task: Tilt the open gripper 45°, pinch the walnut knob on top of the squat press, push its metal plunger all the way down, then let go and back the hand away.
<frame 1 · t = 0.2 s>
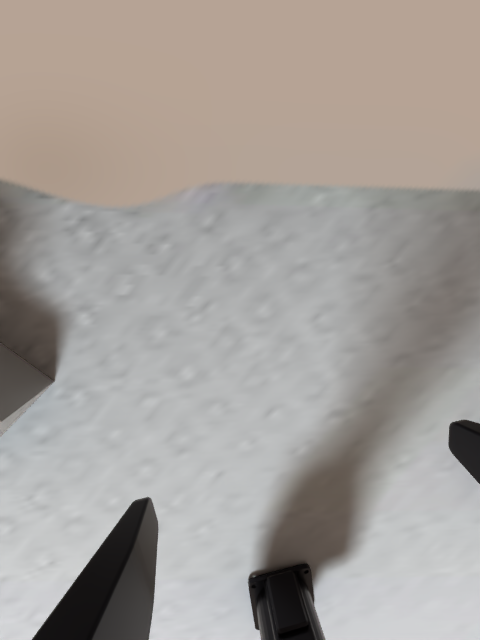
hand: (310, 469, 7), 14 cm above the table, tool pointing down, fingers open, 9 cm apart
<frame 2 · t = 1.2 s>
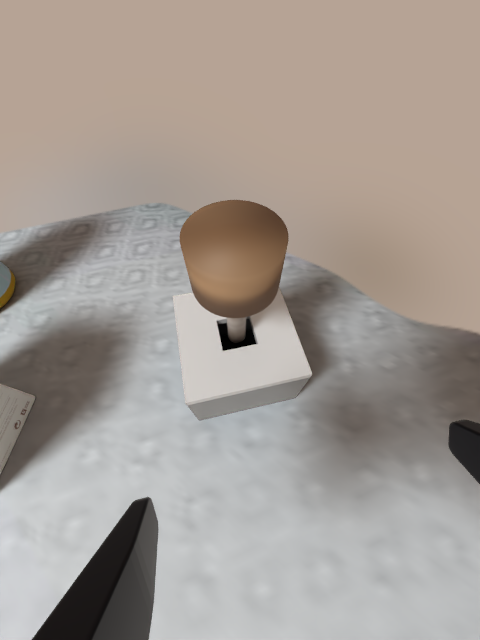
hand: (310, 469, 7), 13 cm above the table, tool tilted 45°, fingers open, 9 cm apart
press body: (237, 363, 23), on the table
plunger: (235, 298, 15), point 10 cm above the table, slide at 4.0 cm
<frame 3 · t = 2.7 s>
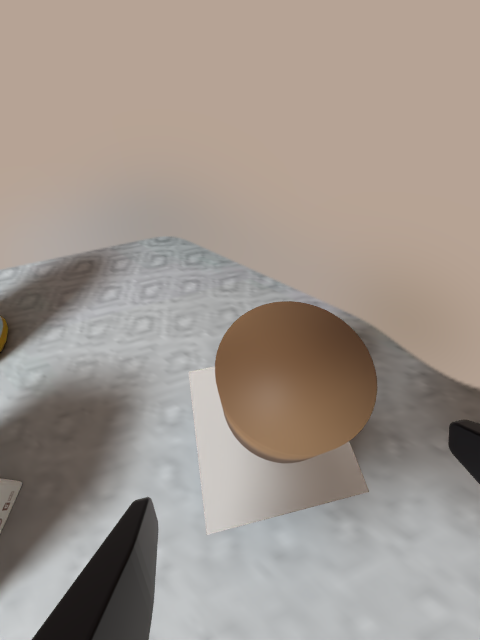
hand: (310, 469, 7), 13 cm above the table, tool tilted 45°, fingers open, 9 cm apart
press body: (261, 440, 20), on the table
plunger: (276, 406, 11), point 10 cm above the table, slide at 4.0 cm
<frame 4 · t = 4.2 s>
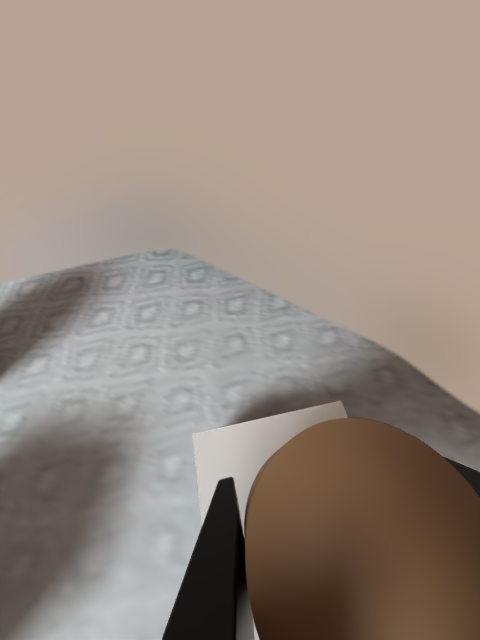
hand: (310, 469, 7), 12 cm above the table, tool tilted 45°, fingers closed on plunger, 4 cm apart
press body: (277, 500, 17), on the table
plunger: (314, 521, 8), point 10 cm above the table, slide at 4.0 cm, touching gripper
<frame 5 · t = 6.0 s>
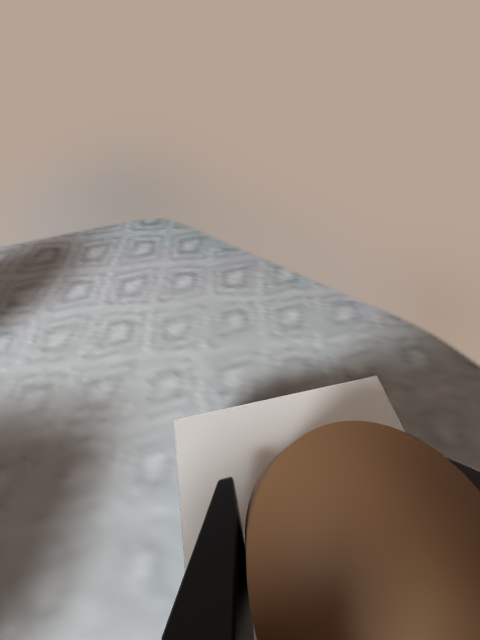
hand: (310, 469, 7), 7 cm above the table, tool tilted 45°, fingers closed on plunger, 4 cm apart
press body: (287, 509, 13), on the table
plunger: (316, 526, 8), point 6 cm above the table, slide at -0.1 cm, touching gripper
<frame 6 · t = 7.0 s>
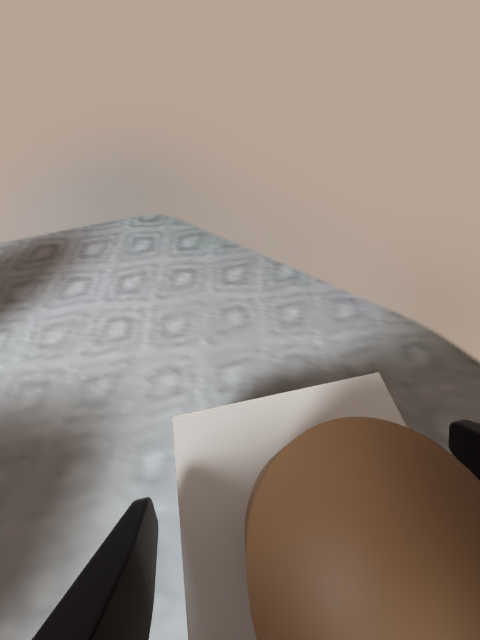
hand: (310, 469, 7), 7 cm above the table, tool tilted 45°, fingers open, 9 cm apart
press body: (287, 508, 13), on the table
plunger: (317, 525, 8), point 6 cm above the table, slide at -0.1 cm
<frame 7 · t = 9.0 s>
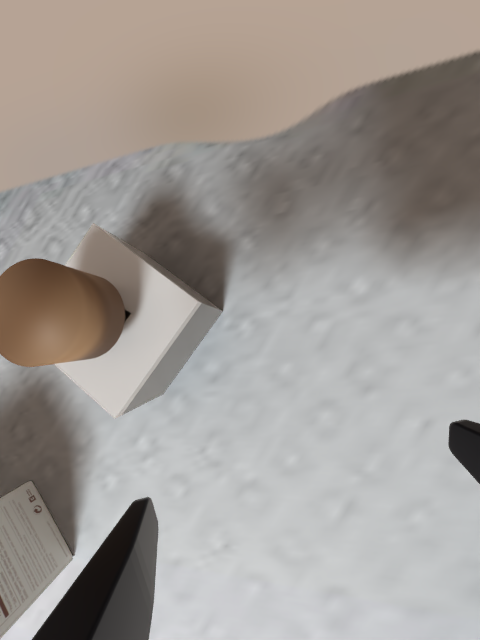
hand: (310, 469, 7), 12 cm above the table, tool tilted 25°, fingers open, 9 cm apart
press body: (154, 322, 21), on the table
plunger: (105, 318, 15), point 6 cm above the table, slide at -0.1 cm
supplement box: (25, 537, 22), on the table
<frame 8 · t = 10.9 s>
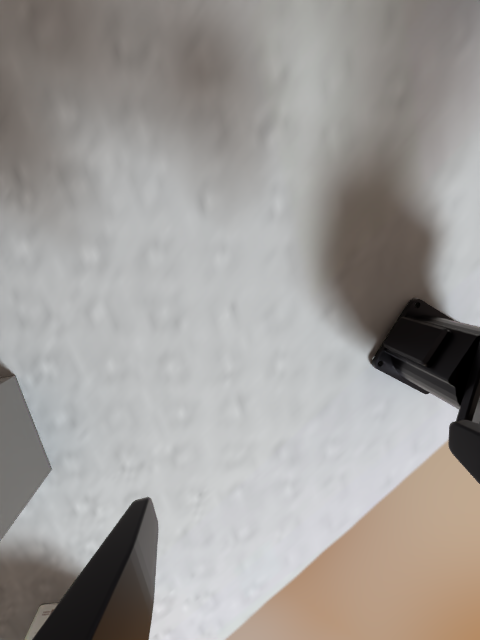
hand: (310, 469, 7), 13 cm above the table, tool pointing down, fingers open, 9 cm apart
supplement box: (84, 626, 24), on the table
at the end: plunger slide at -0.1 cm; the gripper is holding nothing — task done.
